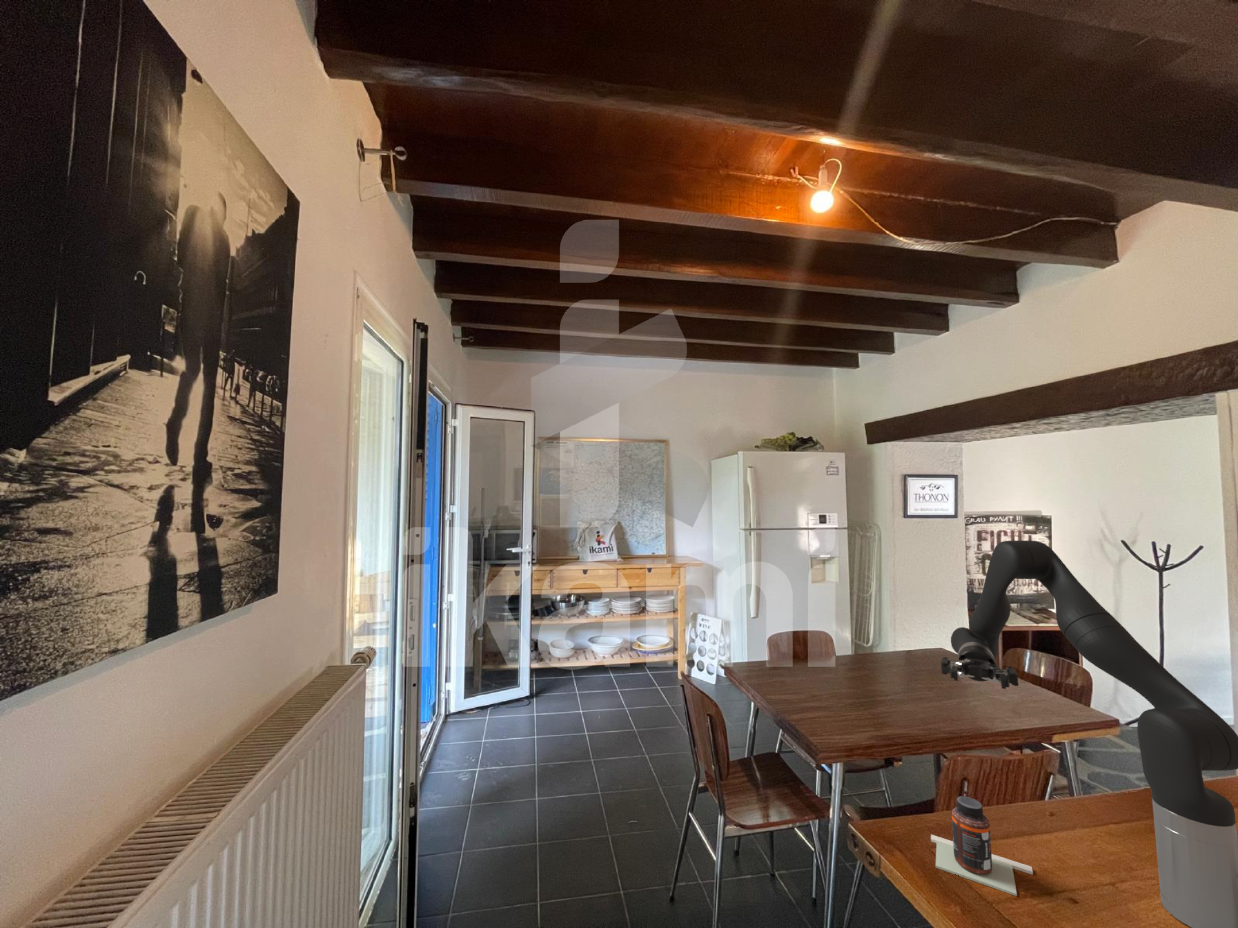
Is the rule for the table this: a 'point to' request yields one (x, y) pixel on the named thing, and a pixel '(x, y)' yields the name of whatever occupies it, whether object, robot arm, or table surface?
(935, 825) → the table surface
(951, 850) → the white flat t-shaped panel
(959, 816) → the supplement bottle
